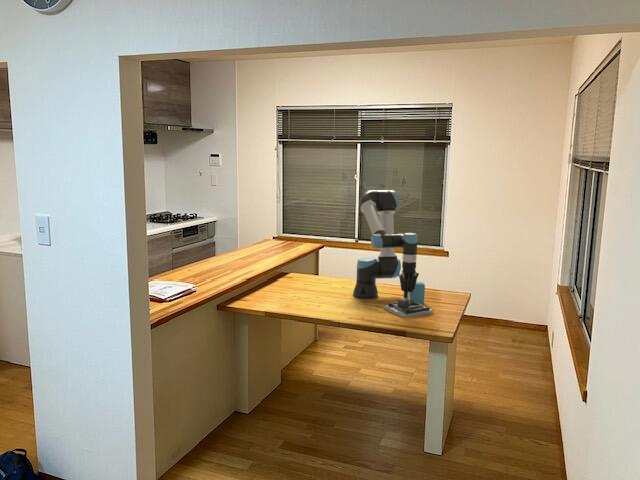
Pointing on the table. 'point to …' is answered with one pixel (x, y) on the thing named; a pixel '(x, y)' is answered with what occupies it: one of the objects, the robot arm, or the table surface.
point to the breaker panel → (408, 309)
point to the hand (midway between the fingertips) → (407, 302)
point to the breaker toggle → (403, 302)
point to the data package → (418, 293)
